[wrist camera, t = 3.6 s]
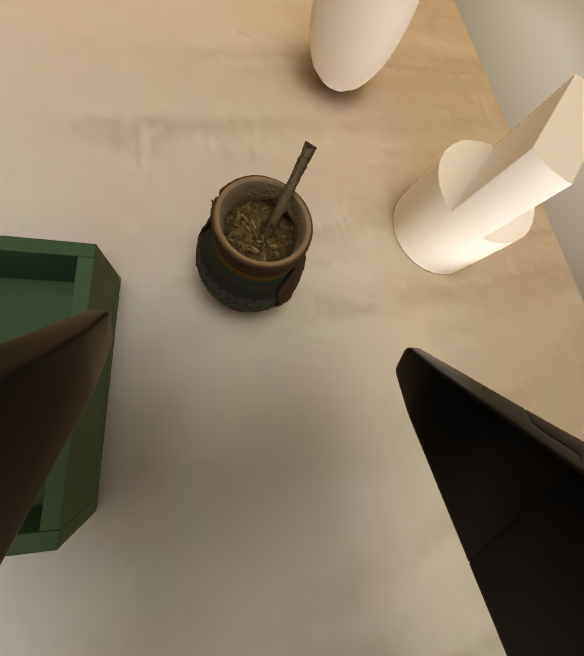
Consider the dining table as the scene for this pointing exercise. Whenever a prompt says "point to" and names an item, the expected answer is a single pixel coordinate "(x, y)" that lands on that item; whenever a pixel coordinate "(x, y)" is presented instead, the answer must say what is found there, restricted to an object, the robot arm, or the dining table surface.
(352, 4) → the bulb air blower
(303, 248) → the mate gourd
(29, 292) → the green open box
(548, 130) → the base with upright slab
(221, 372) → the dining table surface
